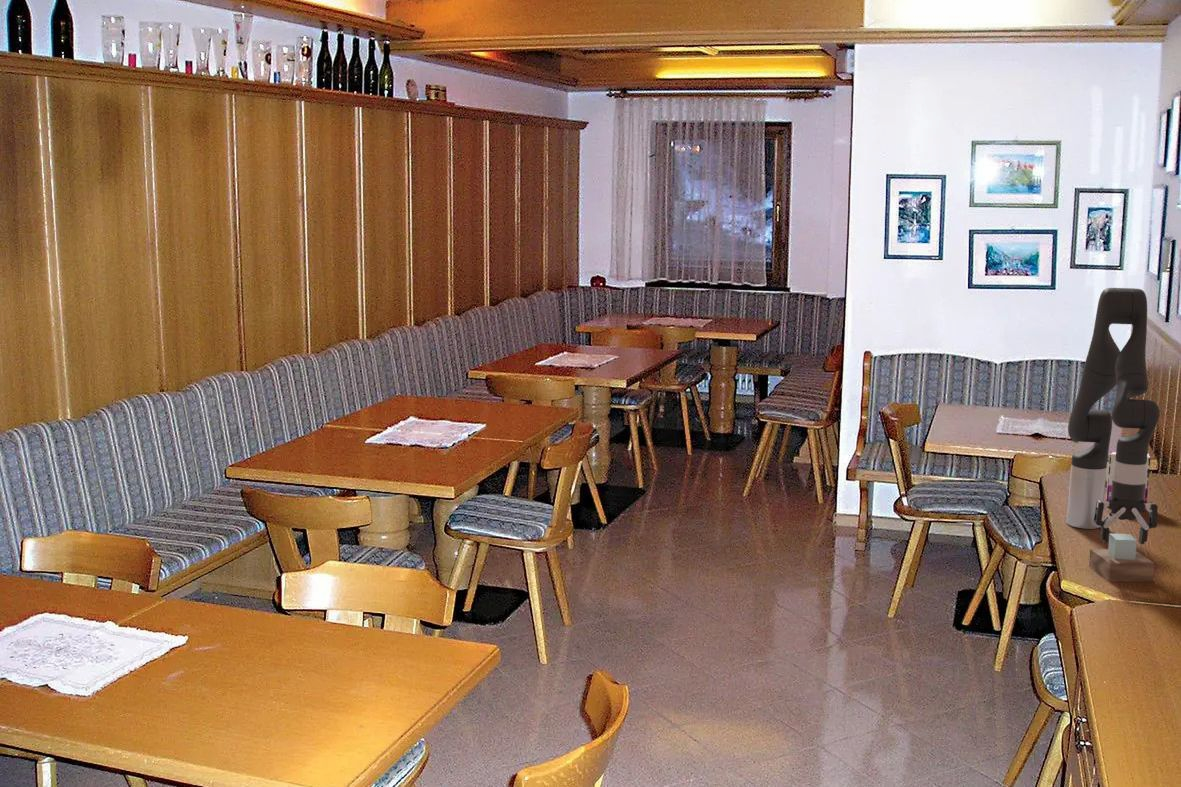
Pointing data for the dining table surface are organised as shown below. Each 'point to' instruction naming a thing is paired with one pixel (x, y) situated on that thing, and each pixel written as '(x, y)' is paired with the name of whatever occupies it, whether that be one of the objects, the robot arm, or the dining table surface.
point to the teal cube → (1122, 546)
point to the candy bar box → (1110, 476)
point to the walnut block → (1121, 566)
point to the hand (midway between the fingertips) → (1123, 542)
